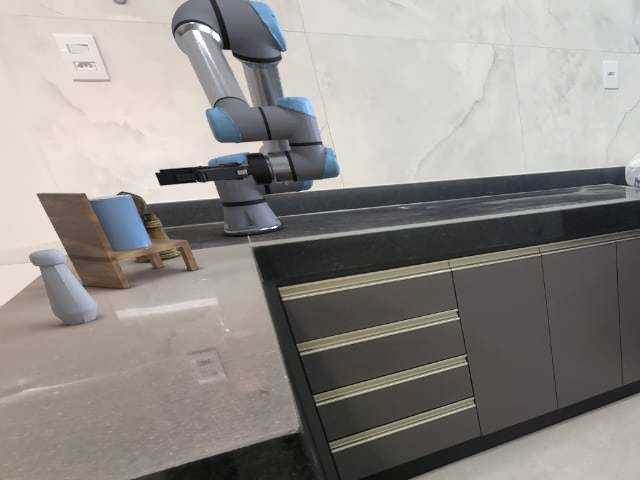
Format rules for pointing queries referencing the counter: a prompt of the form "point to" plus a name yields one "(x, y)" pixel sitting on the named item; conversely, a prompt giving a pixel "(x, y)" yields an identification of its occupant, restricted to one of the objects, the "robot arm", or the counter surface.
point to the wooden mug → (151, 227)
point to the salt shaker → (64, 288)
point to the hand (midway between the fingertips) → (159, 177)
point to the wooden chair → (99, 242)
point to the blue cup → (120, 222)
